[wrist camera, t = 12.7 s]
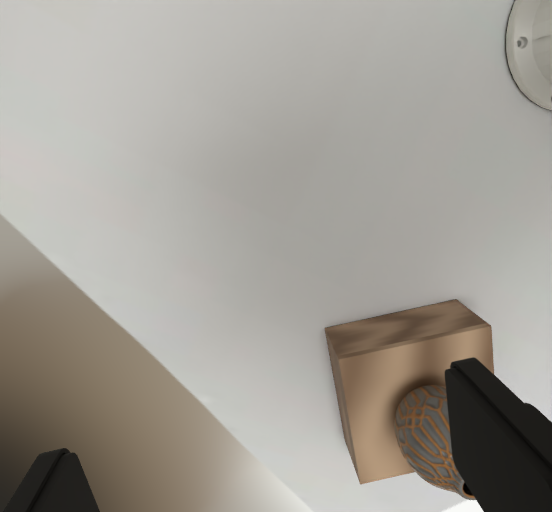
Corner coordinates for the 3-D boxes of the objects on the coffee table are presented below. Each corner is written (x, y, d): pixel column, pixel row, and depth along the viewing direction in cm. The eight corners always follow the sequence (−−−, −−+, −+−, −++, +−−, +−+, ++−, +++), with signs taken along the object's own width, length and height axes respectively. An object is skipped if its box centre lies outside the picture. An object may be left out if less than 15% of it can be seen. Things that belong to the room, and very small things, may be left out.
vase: (477, 400, 38) (545, 477, 29) (421, 453, 39) (472, 542, 30) (424, 357, 36) (481, 424, 28) (367, 413, 37) (405, 495, 29)
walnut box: (456, 299, 42) (491, 326, 36) (465, 412, 45) (498, 452, 39) (324, 328, 41) (338, 359, 35) (344, 439, 45) (360, 484, 39)
